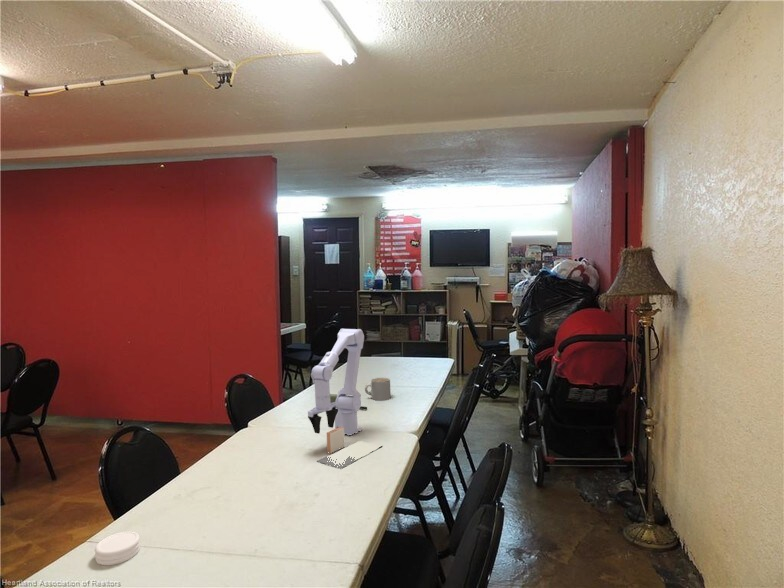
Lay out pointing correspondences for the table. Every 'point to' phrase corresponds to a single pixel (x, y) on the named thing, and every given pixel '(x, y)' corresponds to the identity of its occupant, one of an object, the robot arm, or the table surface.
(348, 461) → the rubber mat
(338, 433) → the peach square slab
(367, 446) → the table surface
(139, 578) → the table surface
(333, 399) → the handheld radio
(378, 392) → the coffee mug
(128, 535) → the white thick disc
